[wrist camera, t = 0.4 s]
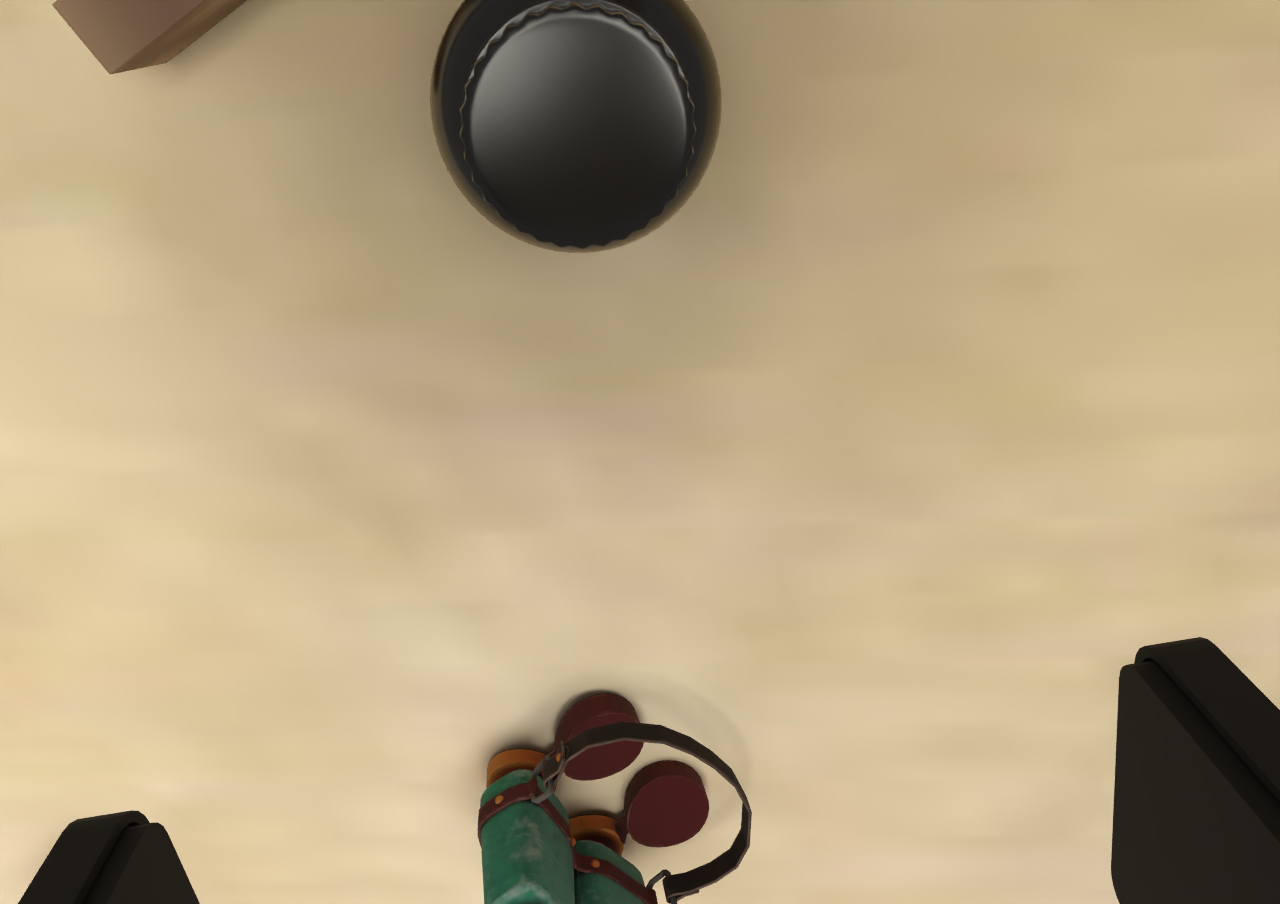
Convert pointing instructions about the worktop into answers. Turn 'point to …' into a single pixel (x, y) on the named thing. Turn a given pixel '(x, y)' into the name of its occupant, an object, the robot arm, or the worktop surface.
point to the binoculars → (592, 845)
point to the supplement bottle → (576, 115)
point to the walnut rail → (141, 28)
